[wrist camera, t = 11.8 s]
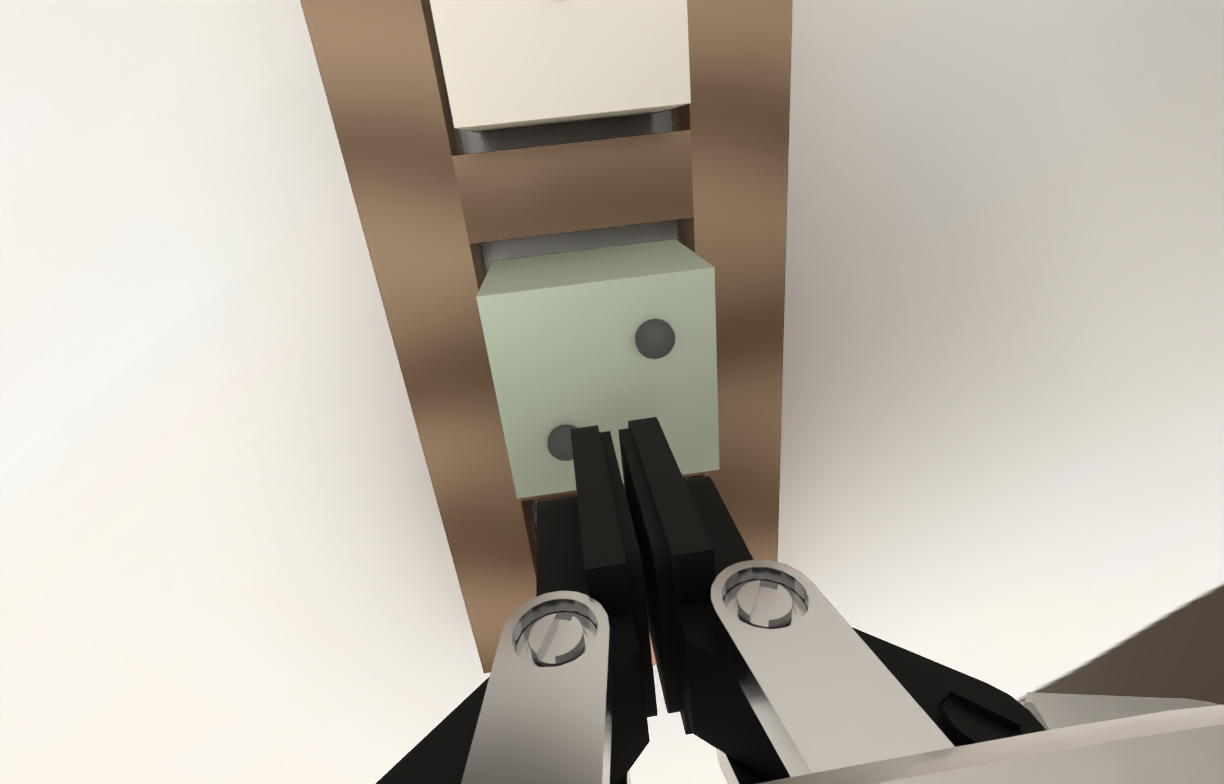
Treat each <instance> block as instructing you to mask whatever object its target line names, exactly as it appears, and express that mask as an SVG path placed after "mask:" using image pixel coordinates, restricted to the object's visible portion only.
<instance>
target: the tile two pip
mask: <svg viewBox="0 0 1224 784" xmlns="http://www.w3.org/2000/svg"><path fill="white" fill-rule="evenodd" d="M476 298H477V303H478V308H479V313H480V318H481V323H482V328H483V333H484V338H485V343H486V348H487V353H488V358H489V363H490V368H491V373H492V377H493V382H494V387H495V392H496V397H497V402H498V407H499V412H500V417H501V422H502V427H503V432H504V437H505V442H506V447H507V452H508V457H509V461H510V466H511V471H512V476H513V481H514V486H515V491H516V496H517V499H519V498H525V497H532V496H539V495H546V494H553V493H560V492H567V491H574V490H576V481H575V471H574V462H573V452H572V442H571V433H570V429H574V428H581V427H588V426H595V425H598V428H599V432H605V431H610V433H611V437H612V441H613V445H614V449H615V453H616V457H617V461H618V465H619V469H620V473H621V477H622V481H623V483H624V479H623V470H622V461H621V451H620V442H619V429H626V428H628V421H630V420H637V419H645V418H652V417H657V419H658V421H659V423H660V426H661V428H662V430H663V432H664V435H665V437H666V439H667V442H668V444H669V446H670V449H671V451H672V453H673V455H674V458H675V460H676V462H677V465H678V467H679V469H680V472H681V474H682V475H685V474H692V473H699V472H706V471H713V470H719V429H718V389H717V348H716V307H715V267H713V266H712V265H711V264H709V263H708V262H707V261H705V260H704V259H702V258H701V257H700V256H698V255H697V254H696V253H694V252H693V251H691V250H690V249H689V248H687V247H686V246H684V245H683V244H682V243H680V242H679V241H678V240H676V239H670V240H661V241H653V242H645V243H636V244H628V245H620V246H611V247H603V248H595V249H586V250H578V251H570V252H561V253H553V254H545V255H536V256H528V257H520V258H511V259H503V260H495V261H493V262H492V264H491V266H490V268H489V270H488V272H487V275H486V277H485V279H484V281H483V283H482V285H481V287H480V290H479V292H478V294H477V296H476Z"/></svg>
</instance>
